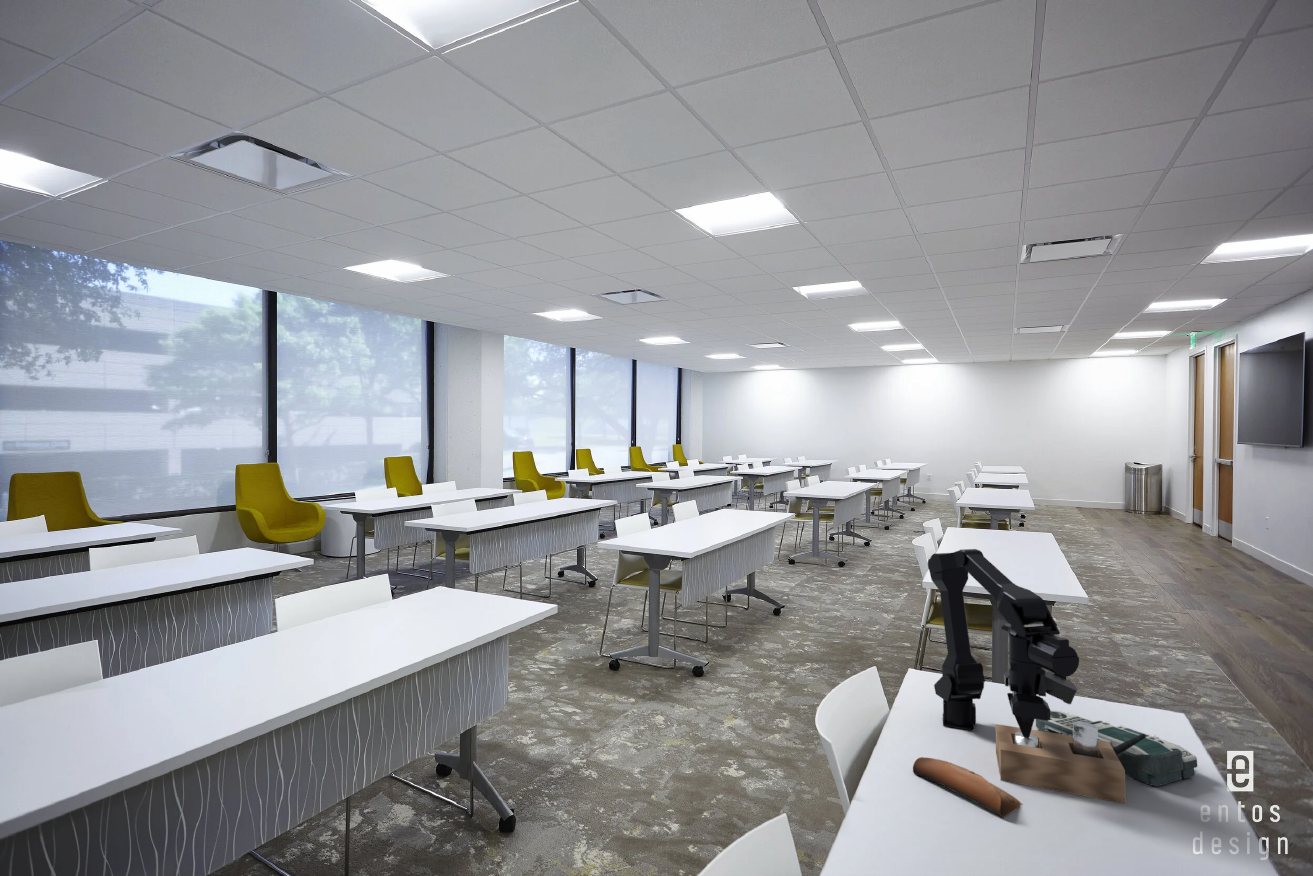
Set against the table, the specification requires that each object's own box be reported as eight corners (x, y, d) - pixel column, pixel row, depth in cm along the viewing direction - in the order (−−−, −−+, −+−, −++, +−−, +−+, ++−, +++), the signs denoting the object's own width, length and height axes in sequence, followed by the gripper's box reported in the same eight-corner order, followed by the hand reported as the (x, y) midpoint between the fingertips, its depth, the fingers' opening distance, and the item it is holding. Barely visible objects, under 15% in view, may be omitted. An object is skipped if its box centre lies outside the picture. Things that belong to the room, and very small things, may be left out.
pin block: (1000, 780, 123) (1000, 749, 123) (995, 752, 134) (995, 724, 134) (1125, 803, 115) (1125, 770, 115) (1109, 771, 126) (1108, 741, 126)
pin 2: (1075, 759, 122) (1075, 728, 122) (1071, 750, 125) (1071, 720, 125) (1100, 764, 120) (1099, 732, 120) (1095, 754, 124) (1095, 723, 124)
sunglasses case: (1027, 803, 115) (1016, 777, 114) (1009, 834, 112) (998, 808, 110) (937, 762, 131) (926, 738, 129) (919, 788, 127) (908, 764, 125)
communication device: (1066, 721, 150) (1065, 677, 150) (1201, 780, 123) (1199, 726, 124) (1020, 730, 146) (1019, 684, 146) (1149, 793, 119) (1148, 737, 119)
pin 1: (1016, 769, 126) (1015, 738, 126) (1013, 759, 130) (1013, 730, 130) (1039, 773, 124) (1039, 742, 124) (1036, 763, 128) (1036, 733, 128)
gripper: (1082, 680, 115) (1083, 766, 115) (1064, 649, 132) (1064, 724, 132) (1012, 672, 120) (1013, 754, 120) (1003, 642, 137) (1004, 715, 137)
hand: (1026, 736), depth 127 cm, fingers closed, pressing on pin 1
